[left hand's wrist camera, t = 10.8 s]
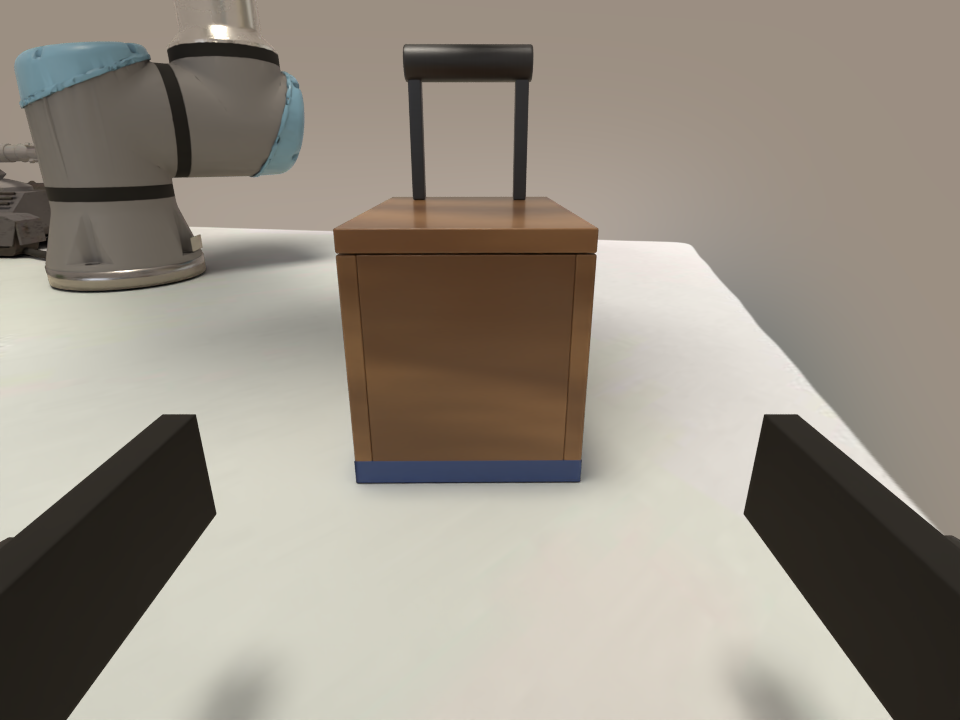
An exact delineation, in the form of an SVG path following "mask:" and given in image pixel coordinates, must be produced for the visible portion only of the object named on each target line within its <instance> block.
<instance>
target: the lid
mask: <svg viewBox="0 0 960 720" xmlns="http://www.w3.org/2000/svg"><path fill="white" fill-rule="evenodd" d="M403 67H404V76H405V80H406V82H408V92H409V116H410V139H411V163H412V186H413V197H392V198H390V199H388V200H386V201H385V202H383V203H381V204H379V205H377V206H375V207H373V208H372V209H370V210H368V211H366V212H364V213H362V214H360V215H358V216H357V217H355V218H353V219H351V220H349V221H347V222H345V223H344V224H342V225H340V226H338V227H336V228H334V229H333V233H334V244H335V252H336V253H596V252H597V243H598V228H597V227H595V226H593V225H592V224H590V223H588V222H587V221H585V220H583V219H582V218H580V217H579V216H577V215H575V214H574V213H572V212H570V211H569V210H567V209H565V208H564V207H562V206H561V205H559V204H557V203H556V202H554V201H552V200H551V199H549V198H547V197H526V167H527V131H528V95H529V82H531V80H532V73H533V46H532V45H531V44H405V45H404V47H403ZM422 82H515V116H514V165H513V197H426V186H425V157H424V128H423V98H422Z"/></svg>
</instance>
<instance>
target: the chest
mask: <svg viewBox="0 0 960 720" xmlns="http://www.w3.org/2000/svg"><path fill="white" fill-rule="evenodd" d="M596 257H597V256H596V254H595V253H339V254H338V255H336V264H337V275H338V285H339V296H340V306H341V317H342V327H343V338H344V349H345V359H346V370H347V380H348V391H349V401H350V412H351V423H352V433H353V444H354V454H355V461H354V462H355V473H356V482H357V483H386V482H571V481H580V475H581V462H582V460H581V455H582V442H583V429H584V416H585V402H586V389H587V376H588V363H589V349H590V336H591V323H592V310H593V296H594V283H595V270H596Z"/></svg>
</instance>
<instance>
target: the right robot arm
mask: <svg viewBox="0 0 960 720" xmlns="http://www.w3.org/2000/svg"><path fill="white" fill-rule="evenodd" d="M173 2H174V8H175V13H176V18H177V24H178V33H177V35H176V36H175V37H174V39H173V40H172V41H171V42H170V43H169V44H168V46H167V52H168V57H169V63H170V64H163V63H152V62H150V61H149V60H151V58H150V55H149V54H148V52H147V51H146V49H145V48H144V47H143V46H142V45H139V44H135V43H122V42H78V43H63V44H54V45H47V46H41V47H36V48H32V49H29V50H26V51H24V52H22V53H21V54H20V55H19V56H18V57H17V59H16V61H15V66H14V68H15V74H16V79H17V83H18V88H19V93H20V98H21V101H20V107H21V108H25V112H26V116H27V120H28V124H29V128H30V132H31V135H32V139H33V143H34V147H35V151H36V155H37V159H38V163H39V166H40V170H41V174H42V178H43V182H44V186H45V189H46V192H47V196H48V200H49V204H50V208H51V217H50V226H49V236H48V245H47V251H41V250H35V249H30V248H25V249H24V250H23V253H24V254H26V255H30V256H35V257H40V258H46V266H45V269H46V273H47V276H48V280H49V283H50V285H51V286H53V287H55V288H59V289H65V290H79V291H98V290H117V289H129V288H139V287H147V286H154V285H160V284H166V283H171V282H176V281H181V280H185V279H188V278H192V277H195V276H197V275H200V274H202V273H203V272H204V271H205V270H206V265H205V259H204V254H203V252H202V250H201V249H200V248H203V246H202V241H201V235H197V236H195V237H194V236H193V234H192V232H191V230H190V228H189V226H188V225H187V223H186V221H185V219H184V217H183V215H182V214H181V212H180V210H179V208H178V206H177V203H176V199H175V194H174V189H173V184H172V178H178V177H229V176H250V177H258V176H260V175H273V174H281V173H284V172H286V171H288V170H289V169H290V168H291V167H292V166H293V165H294V163H295V162H296V160H297V158H298V155H299V151H300V149H301V145H302V140H303V133H304V103H303V97H302V93H301V90H300V89H299V84H298V82H297V80H296V79H295V77H293V76H292V75H290V74H288V73H287V72H281V71H280V66H279V59H278V53H277V51H276V50H275V49H274V48H273V47H272V46H271V45H270V44H269V43H268V42H267V41H266V40H265V39H264V38H263V36H262V35H261V28H260V21H259V14H258V7H257V0H173Z"/></svg>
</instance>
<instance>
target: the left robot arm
mask: <svg viewBox="0 0 960 720" xmlns="http://www.w3.org/2000/svg"><path fill="white" fill-rule="evenodd" d="M215 515H216V509H215V505H214V500H213V495H212V490H211V485H210V481H209V476H208V471H207V466H206V461H205V456H204V452H203V447H202V442H201V437H200V432H199V428H198V423H197V418H196V414H163V415H161V416H160V417H159V418H158V419H157V420H155V421H154V422H153V423H152V424H150V425H149V426H148V427H147V428H146V429H144V430H143V431H142V432H141V433H140V434H138V435H137V436H136V437H135V438H134V439H132V440H131V441H130V442H129V443H127V444H126V445H125V446H124V447H123V448H121V449H120V450H119V451H118V452H117V453H115V454H114V455H113V456H112V457H111V458H109V459H108V460H107V461H106V462H105V463H103V464H102V465H101V466H100V467H98V468H97V469H96V470H95V471H94V472H92V473H91V474H90V475H89V476H88V477H86V478H85V479H84V480H83V481H82V482H80V483H79V484H78V485H77V486H75V487H74V488H73V489H72V490H71V491H69V492H68V493H67V494H66V495H65V496H63V497H62V498H61V499H60V500H59V501H57V502H56V503H55V504H54V505H52V506H51V507H50V508H49V509H48V510H46V511H45V512H44V513H43V514H42V515H40V516H39V517H38V518H37V519H36V520H34V521H33V522H32V523H31V524H29V525H28V526H27V527H26V528H25V529H23V530H22V531H21V532H20V533H19V534H17V535H16V536H15V537H9V538H7V539H5V540H3V541H1V542H0V720H67V718H68V717H69V716H70V714H71V713H72V712H73V710H74V709H75V707H76V706H77V705H78V703H79V702H80V701H81V699H82V698H83V696H84V695H85V694H86V692H87V691H88V690H89V688H90V687H91V685H92V684H93V683H94V681H95V680H96V679H97V677H98V676H99V674H100V673H101V672H102V670H103V669H104V668H105V666H106V665H107V663H108V662H109V661H110V659H111V658H112V657H113V655H114V654H115V653H116V651H117V650H118V648H119V647H120V646H121V644H122V643H123V642H124V640H125V639H126V637H127V636H128V635H129V633H130V632H131V631H132V629H133V628H134V626H135V625H136V624H137V622H138V621H139V620H140V618H141V617H142V615H143V614H144V613H145V611H146V610H147V609H148V607H149V606H150V604H151V603H152V602H153V600H154V599H155V598H156V596H157V595H158V593H159V592H160V591H161V589H162V588H163V587H164V585H165V584H166V582H167V581H168V580H169V578H170V577H171V576H172V574H173V573H174V572H175V570H176V569H177V567H178V566H179V565H180V563H181V562H182V561H183V559H184V558H185V556H186V555H187V554H188V552H189V551H190V550H191V548H192V547H193V545H194V544H195V543H196V541H197V540H198V539H199V537H200V536H201V534H202V533H203V532H204V530H205V529H206V528H207V526H208V525H209V523H210V522H211V521H212V519H213V518H214V517H215ZM744 515H745V517H746V518H747V519H748V521H749V522H750V523H751V525H752V526H753V528H754V529H755V530H756V532H757V533H758V534H759V536H760V537H761V539H762V540H763V541H764V543H765V544H766V545H767V547H768V548H769V550H770V551H771V552H772V554H773V555H774V556H775V558H776V559H777V561H778V562H779V563H780V565H781V566H782V567H783V569H784V570H785V572H786V573H787V574H788V576H789V577H790V578H791V580H792V581H793V583H794V584H795V585H796V587H797V588H798V589H799V591H800V592H801V593H802V595H803V596H804V598H805V599H806V600H807V602H808V603H809V604H810V606H811V607H812V609H813V610H814V611H815V613H816V614H817V615H818V617H819V618H820V620H821V621H822V622H823V624H824V625H825V626H826V628H827V629H828V631H829V632H830V633H831V635H832V636H833V637H834V639H835V640H836V642H837V643H838V644H839V646H840V647H841V648H842V650H843V651H844V653H845V654H846V655H847V657H848V658H849V659H850V661H851V662H852V663H853V665H854V666H855V668H856V669H857V670H858V672H859V673H860V674H861V676H862V677H863V679H864V680H865V681H866V683H867V684H868V685H869V687H870V688H871V690H872V691H873V692H874V694H875V695H876V696H877V698H878V699H879V701H880V702H881V703H882V705H883V706H884V707H885V709H886V710H887V712H888V713H889V714H890V716H891V717H892V718H893V720H960V540H959V539H957V538H956V537H954V536H944V535H943V534H941V533H940V532H939V531H938V530H937V529H935V528H934V527H933V526H932V525H931V524H929V523H928V522H927V521H926V520H924V519H923V518H922V517H921V516H920V515H918V514H917V513H916V512H915V511H914V510H912V509H911V508H910V507H909V506H908V505H906V504H905V503H904V502H903V501H901V500H900V499H899V498H898V497H897V496H895V495H894V494H893V493H892V492H891V491H889V490H888V489H887V488H886V487H885V486H883V485H882V484H881V483H880V482H878V481H877V480H876V479H875V478H874V477H872V476H871V475H870V474H869V473H868V472H866V471H865V470H864V469H863V468H862V467H860V466H859V465H858V464H857V463H855V462H854V461H853V460H852V459H851V458H849V457H848V456H847V455H846V454H845V453H843V452H842V451H841V450H840V449H839V448H837V447H836V446H835V445H834V444H833V443H831V442H830V441H829V440H828V439H826V438H825V437H824V436H823V435H822V434H820V433H819V432H818V431H817V430H816V429H814V428H813V427H812V426H811V425H810V424H808V423H807V422H806V421H805V420H803V419H802V418H801V417H800V416H799V415H797V414H764V418H763V423H762V428H761V432H760V437H759V442H758V447H757V452H756V456H755V461H754V466H753V471H752V476H751V481H750V485H749V490H748V495H747V500H746V505H745V509H744Z"/></svg>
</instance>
